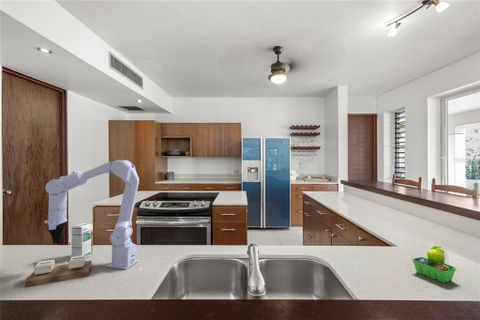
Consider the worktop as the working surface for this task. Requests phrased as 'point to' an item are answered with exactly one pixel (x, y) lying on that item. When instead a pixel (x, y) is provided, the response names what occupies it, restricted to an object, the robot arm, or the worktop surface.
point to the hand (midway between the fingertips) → (57, 242)
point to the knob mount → (58, 274)
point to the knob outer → (44, 267)
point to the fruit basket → (434, 265)
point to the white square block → (77, 261)
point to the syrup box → (82, 239)
